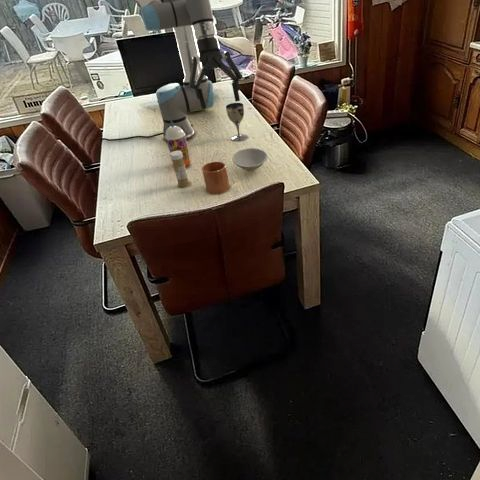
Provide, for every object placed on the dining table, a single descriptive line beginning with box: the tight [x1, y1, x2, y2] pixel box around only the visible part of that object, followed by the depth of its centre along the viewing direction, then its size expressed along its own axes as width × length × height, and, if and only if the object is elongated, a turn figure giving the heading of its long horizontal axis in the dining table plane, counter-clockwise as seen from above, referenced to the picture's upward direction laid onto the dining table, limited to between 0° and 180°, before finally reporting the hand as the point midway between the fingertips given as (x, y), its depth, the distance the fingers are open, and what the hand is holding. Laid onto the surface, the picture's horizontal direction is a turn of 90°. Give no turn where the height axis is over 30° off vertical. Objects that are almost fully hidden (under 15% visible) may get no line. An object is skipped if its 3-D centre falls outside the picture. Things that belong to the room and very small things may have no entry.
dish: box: [231, 147, 268, 171], centre depth 158 cm, size 18×14×5 cm
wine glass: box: [225, 102, 247, 142], centre depth 180 cm, size 8×8×15 cm
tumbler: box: [201, 161, 230, 195], centre depth 146 cm, size 9×9×9 cm
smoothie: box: [165, 119, 191, 169], centre depth 160 cm, size 8×8×20 cm
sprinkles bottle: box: [169, 151, 190, 188], centre depth 149 cm, size 5×5×13 cm
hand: (221, 104), depth 142 cm, fingers open, 13 cm apart
